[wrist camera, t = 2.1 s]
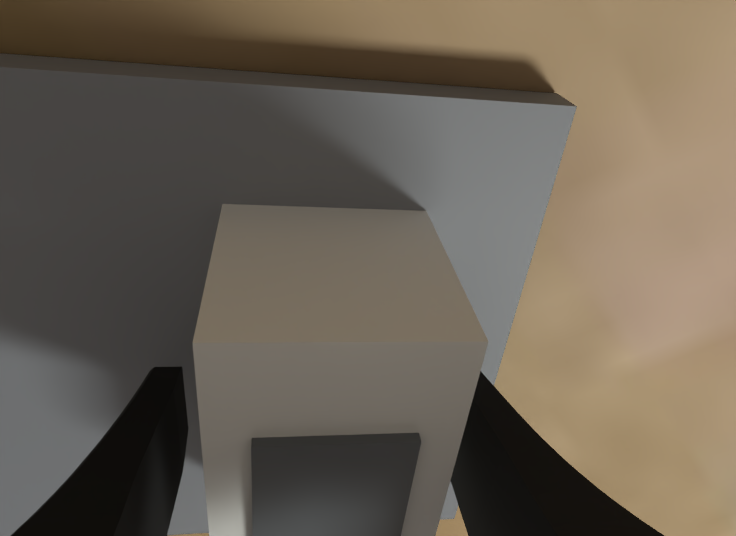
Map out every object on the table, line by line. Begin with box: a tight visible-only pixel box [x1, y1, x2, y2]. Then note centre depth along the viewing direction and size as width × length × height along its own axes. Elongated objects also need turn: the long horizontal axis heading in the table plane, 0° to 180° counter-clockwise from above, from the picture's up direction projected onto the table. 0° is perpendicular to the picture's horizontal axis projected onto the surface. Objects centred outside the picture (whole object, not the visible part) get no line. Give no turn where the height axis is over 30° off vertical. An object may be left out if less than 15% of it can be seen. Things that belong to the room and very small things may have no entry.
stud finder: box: [192, 204, 489, 536], centre depth 12 cm, size 9×4×5 cm, turn 174°
